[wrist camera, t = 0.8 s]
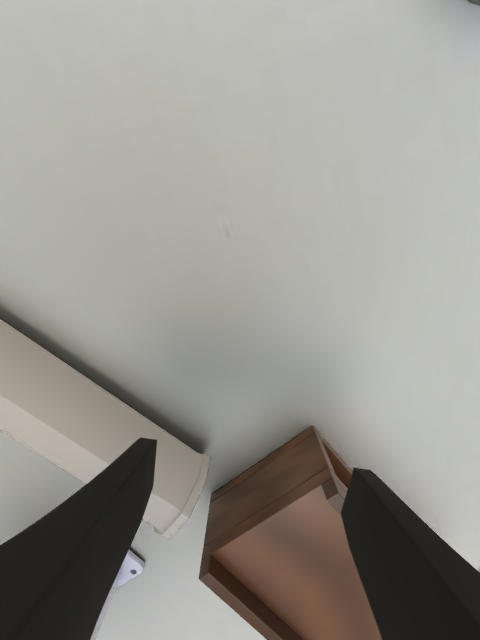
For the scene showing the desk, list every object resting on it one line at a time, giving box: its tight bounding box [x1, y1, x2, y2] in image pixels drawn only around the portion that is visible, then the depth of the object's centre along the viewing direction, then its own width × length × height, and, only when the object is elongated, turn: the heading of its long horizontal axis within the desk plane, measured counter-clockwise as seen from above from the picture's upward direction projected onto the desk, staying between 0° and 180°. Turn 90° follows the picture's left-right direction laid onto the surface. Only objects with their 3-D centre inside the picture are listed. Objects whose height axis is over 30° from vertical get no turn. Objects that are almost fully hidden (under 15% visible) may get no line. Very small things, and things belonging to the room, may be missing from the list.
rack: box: [199, 426, 382, 640], centre depth 19 cm, size 10×16×6 cm, turn 40°
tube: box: [0, 319, 210, 539], centre depth 17 cm, size 5×5×25 cm
